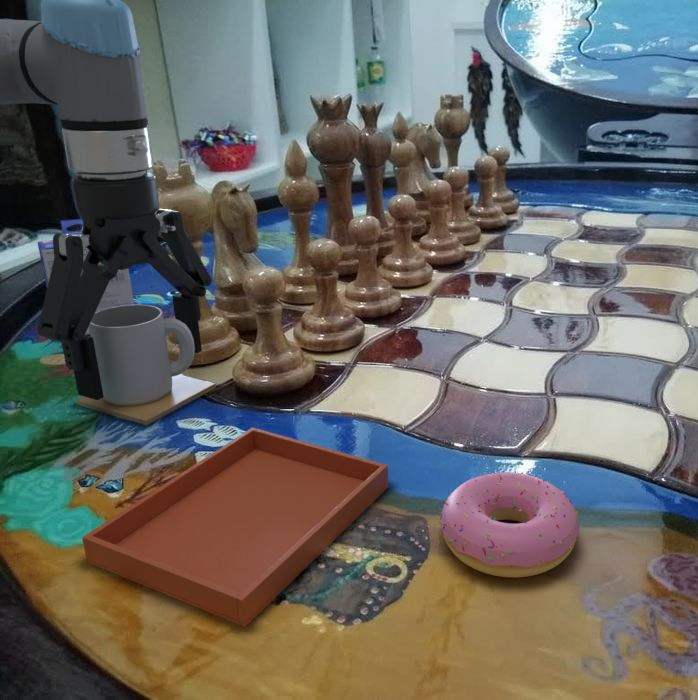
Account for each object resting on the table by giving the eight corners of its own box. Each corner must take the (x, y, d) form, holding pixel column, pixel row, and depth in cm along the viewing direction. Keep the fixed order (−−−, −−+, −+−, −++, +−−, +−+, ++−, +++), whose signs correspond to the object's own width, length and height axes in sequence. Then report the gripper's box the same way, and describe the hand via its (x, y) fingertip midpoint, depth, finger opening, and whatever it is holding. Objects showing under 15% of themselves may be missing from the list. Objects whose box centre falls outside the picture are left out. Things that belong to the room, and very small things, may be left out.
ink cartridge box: (131, 315, 104) (115, 213, 98) (140, 327, 100) (124, 222, 94) (53, 328, 98) (31, 221, 93) (59, 341, 94) (36, 230, 89)
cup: (98, 385, 81) (84, 310, 78) (192, 369, 86) (183, 297, 82) (104, 412, 76) (90, 332, 72) (205, 394, 80) (196, 317, 77)
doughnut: (602, 571, 56) (608, 525, 54) (466, 602, 52) (467, 555, 50) (541, 493, 65) (544, 452, 63) (422, 515, 61) (422, 473, 60)
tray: (86, 562, 55) (81, 537, 54) (254, 447, 71) (252, 427, 70) (245, 627, 49) (242, 600, 48) (388, 487, 65) (388, 464, 64)
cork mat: (77, 405, 78) (76, 400, 78) (150, 371, 87) (149, 366, 86) (146, 425, 74) (145, 420, 74) (216, 388, 83) (215, 383, 83)
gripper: (19, 198, 59) (67, 428, 68) (231, 160, 80) (248, 339, 89) (-40, 188, 62) (13, 411, 70) (179, 154, 83) (200, 329, 91)
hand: (144, 371), depth 79 cm, fingers open, 13 cm apart
